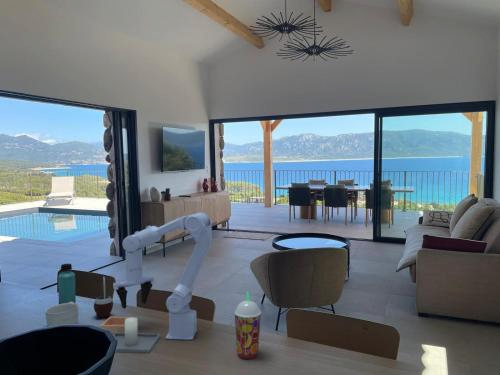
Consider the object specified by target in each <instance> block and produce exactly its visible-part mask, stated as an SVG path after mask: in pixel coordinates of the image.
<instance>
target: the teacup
mask: <svg viewBox="0 0 500 375" xmlns="http://www.w3.org/2000/svg"><path fill="white" fill-rule="evenodd" d="M78 307H79V304H77V302H76V303H74V302H69V303H64V304H59V303H58V304H54V305H52V306H50V307H48V308H47V309H45V312H44V313H45V320H46V325H47V328H48V327H49V326H55V325H61V324H75V325H76V324H77V323H78V321H79V308H78Z"/></svg>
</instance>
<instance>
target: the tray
mask: <svg viewBox="0 0 500 375" xmlns="http://www.w3.org/2000/svg"><path fill="white" fill-rule="evenodd" d="M114 335H115V337H116V338H117V340H118V346H117V350H116V352H115V353H126V354H128V353H129V354H150V353H151V351H152V350H153V349H154V347H155V346H156V345H157V343H158V341H159V340H160V338H161V333H151V332H150V333H149V332H147V333H146V332H145V333H144V332H143V333H141V332H137V337H138V343H137V344H136V345H133V346H126V345H125V333H116V332H115V333H114Z"/></svg>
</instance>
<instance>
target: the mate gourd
mask: <svg viewBox="0 0 500 375" xmlns="http://www.w3.org/2000/svg"><path fill="white" fill-rule="evenodd" d="M102 278H103V284H102V286H103V295H101V296H98V297H96V299H95V300H94V303H93V309H94V312H95V315H96V320H100V319H104V318H105V319H106V320H107V319H108V318H109V317H110V315H111V313H112V310H113V307H114V300H113V299H112V296H110V295H109V296H108V295H106V277H105V276H103V277H102Z"/></svg>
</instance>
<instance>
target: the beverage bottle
mask: <svg viewBox="0 0 500 375" xmlns="http://www.w3.org/2000/svg"><path fill="white" fill-rule="evenodd" d="M72 269H73V266H72V263H62V264H61V265H60V271H62V272H60V273H59V274H58V275H57V278H58V282H57V283H58V286H57V288H58V294H57V295H58V296H57V297H58V304H64V303H69V302H74V303H76V304H77V300H76V299H77V297H76V295H77V294H76V273H75V272H73V271H71V270H72Z"/></svg>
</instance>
